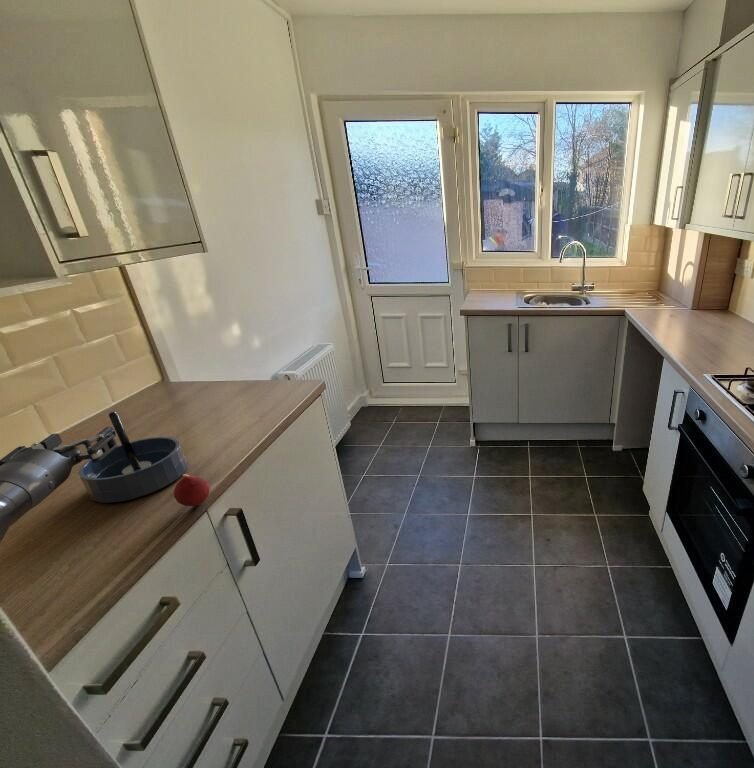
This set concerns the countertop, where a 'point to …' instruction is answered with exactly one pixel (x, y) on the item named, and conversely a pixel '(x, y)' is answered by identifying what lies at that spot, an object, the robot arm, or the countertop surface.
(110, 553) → the countertop surface
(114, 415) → the weighted rod stand
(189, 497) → the onion
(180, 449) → the bowl
